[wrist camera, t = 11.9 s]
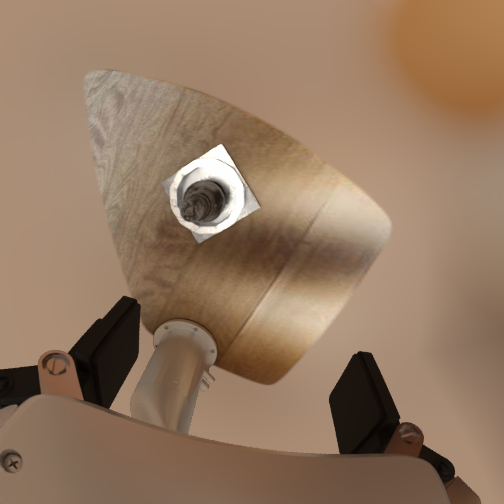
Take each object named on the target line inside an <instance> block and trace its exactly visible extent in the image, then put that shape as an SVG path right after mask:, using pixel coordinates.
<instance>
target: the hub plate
mask: <svg viewBox="0 0 504 504" xmlns="http://www.w3.org/2000/svg"><path fill="white" fill-rule="evenodd" d="M201 180H207V181H214V182H216V183H218V184H220V185H221V187H222V188H223V189H224V191H225V194H226V203H225V206H224V209H223V212H222V213H221V215H220V216H219V217H218V218H217V219H215V220H213V221H211V222H207V223H202V222H198V221H196V222H187V221H185V220H184V219H183V218H182V217H181V215H180V207H181V204H182V203H183V196H184V193H185V191H186V189H187V188H188V187H189V186H190V185H191V184H193V183H194V182H196V181H201ZM161 185H162V186H163V188H164V190H165V191H166V193H167V194H168V196H169V198H170V202H171V209H172V211H173V212H174V214H175V215H176V217H177V218H178V220H179V222H180V223H181V224H182V225H183V226H185V227H187V228H189V229H190V231H191V232H192V234H193V235H194V237H195V239H196V240H197V242H198V243H201V242H202V241H204V240H206V239H207V238H209V237H211V236H212V235H214V234H216V233H219V232H221V231H222V230H224V229H226V228H227V227H229V226H231V225H233V224H234V223H235V222H236V221H238V220H240V219H242V218H243V217H245V216H247V215H248V214H250V213H252V212H254V211H255V210H257V209H259V208H261V206H260V204H259V203H258V201H257V199H256V198H255V196H254V194H253V193H252V191H251V189H250V188H249V186H248V184H247V183H246V181H245V179H244V178H243V176H242V174H241V173H240V171H239V170H238V168H237V166H236V165H235V163H234V161H233V160H232V158H231V157H230V155H229V153H228V152H227V150H226V148H225V147H224V145H223V144H220V145H219V146H217V147H215V148H214V149H212V150H211V151H209V152H207V153H206V154H204V155H203V156H201V157H200V158H198V159H197V160H194V161H193V162H191V163H190V164H188V165H187V166H185V167H184V168H182V169H181V170H179V171H178V172H177V173H176V174H174V175H173V176H171V177H170V178H168V179H167V180H166V181H164V182H163V183H161Z"/></svg>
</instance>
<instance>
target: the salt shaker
mask: <svg viewBox="0 0 504 504" xmlns="http://www.w3.org/2000/svg"><path fill="white" fill-rule="evenodd" d="M225 203H226V194H225V191H224V189H223V188H222V187H221V185H220V184H218V183H216V182H214V181H207V180H201V181H196V182H194V183H193V184H191V185H190V186H189V187H188V188H187V189H186V191H185V193H184V196H183V203H182V204H181V207H180V215H181V217H182V218H183V219H184V220H185V221H187V222H196V221H198V222H202V223H207V222H211V221H213V220H215V219H217V218H218V217H219V216H220V215H221V213H222V212H223V209H224V206H225Z"/></svg>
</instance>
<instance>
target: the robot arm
mask: <svg viewBox="0 0 504 504" xmlns="http://www.w3.org/2000/svg"><path fill="white" fill-rule="evenodd" d="M140 308H141V306H140V304H138V303H137V300H136V299H133V298H130V297H127V296H123V297H122V298H121V299H120V300H119V301H118V302H117V303H116V304H115V306H114V307H113V308H112V309H111V310H110V311H109V312H108V313H107V315H106V316H105V317H104V318H103V319H98V320H96V322H95V323H94V324H93V325H92V326H91V327H90V328H89V329H88V330H87V332H86V333H85V334H84V335H83V336H82V337H81V338H80V339H79V340H78V342H77V343H76V344H75V345H74V346H73V347H72V349H71V350H70V351H69V352H68V353H66V352H64V351H60V350H51V351H48V352H45V353H44V354H43V355H41V356H40V359H39V361H38V365H35V366H28V367H20V368H10V369H0V504H481V500H480V498H479V496H478V495H477V494H476V493H475V492H474V491H473V490H472V489H471V488H470V487H468V485H467V484H466V483H465V482H464V481H463V480H462V479H461V478H460V477H459V476H457V477H456V478H455V477H454V475H455V469H454V466H453V464H452V463H451V462H450V461H449V460H448V459H446V458H444V457H443V456H441V455H439V454H437V453H436V452H434V451H433V450H431V449H430V448H428V447H426V446H425V445H423V442H424V435H423V433H422V431H421V430H420V428H419V427H418V426H416V425H415V424H412V423H409V422H403V423H401V424H400V422H399V419H400V415H399V413H398V411H397V409H396V406H395V404H394V401H393V399H392V397H391V395H390V392H389V390H388V388H387V385H386V383H385V381H384V379H383V377H382V375H381V372H380V370H379V368H378V366H377V364H376V362H375V360H374V357H373V355H372V354H371V353H369V352H362V351H359V352H358V353H357V354H354V355H353V356H352V358H351V360H350V362H349V363H348V365H347V367H346V369H345V370H344V372H343V374H342V376H341V377H340V379H339V381H338V382H337V384H336V386H335V387H334V389H333V391H332V392H331V394H330V397H329V403H330V408H331V413H332V418H333V422H334V427H335V431H336V437H337V442H338V447H339V452H340V454H314V453H298V452H286V451H276V450H267V449H259V448H252V447H246V446H240V445H234V444H228V443H223V442H218V441H214V440H209V439H204V438H200V437H196V436H192V435H188V432H189V427H190V423H191V419H192V415H193V411H194V408H195V404H196V400H197V396H198V392H199V389H201V390H202V391H206V390H208V389H209V385H208V384H207V382H206V381H205V380H204V379H202V377H203V376H204V377H205V378H206V380H207V381H208V382H209V383H213V382H214V381H215V378H214V377H213V376H212V375H211V374H210V373H209V368H210V367H211V366H212V365H213V363H214V362H215V360H216V357H217V352H218V351H217V344H216V341H215V339H214V337H213V336H212V335H211V334H210V332H209V331H208V330H206V329H205V328H204V327H202V326H201V325H199V324H197V323H195V322H193V321H189V320H185V319H173V320H168V321H166V322H164V323H163V324H161V325H160V326H159V327H158V329H157V330H156V332H155V334H154V337H153V345H154V348H155V351H154V353H153V355H152V357H151V359H150V361H149V363H148V365H147V367H146V369H145V371H144V373H143V375H142V377H141V379H140V381H139V383H138V385H137V386H136V389H135V391H134V393H133V395H132V397H131V402H130V411H131V416H132V417H129V416H126V415H123V414H120V413H118V412H115V411H113V410H110V409H109V408H110V406H111V404H112V403H113V401H114V399H115V397H116V395H117V393H118V392H119V390H120V388H121V386H122V384H123V383H124V381H125V379H126V377H127V375H128V373H129V372H130V370H131V368H132V366H133V365H134V363H135V361H136V360H137V357H138V353H139V327H140V326H139V324H140Z"/></svg>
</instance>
